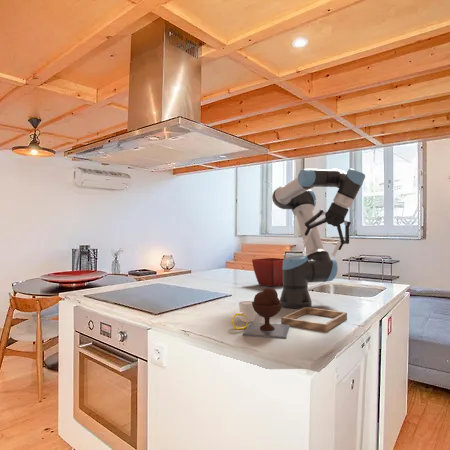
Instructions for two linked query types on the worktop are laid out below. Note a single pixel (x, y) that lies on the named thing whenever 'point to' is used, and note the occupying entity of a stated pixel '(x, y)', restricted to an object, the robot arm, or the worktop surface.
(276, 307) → the ice cream bowl
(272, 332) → the plate
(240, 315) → the watch
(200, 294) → the worktop surface
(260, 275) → the plant pot
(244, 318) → the white cup
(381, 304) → the worktop surface
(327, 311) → the wooden picture frame
